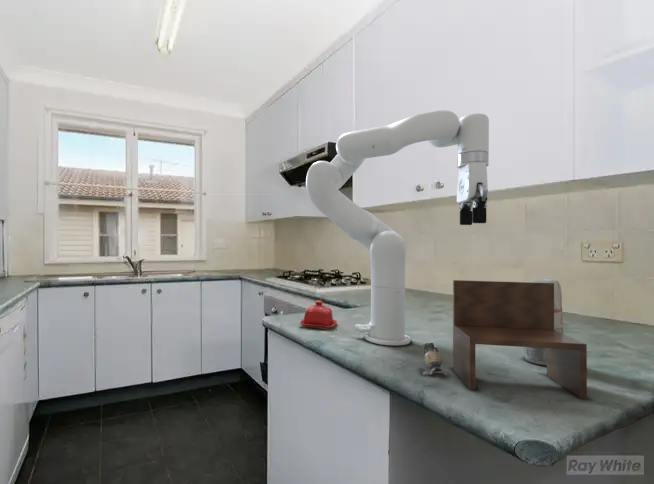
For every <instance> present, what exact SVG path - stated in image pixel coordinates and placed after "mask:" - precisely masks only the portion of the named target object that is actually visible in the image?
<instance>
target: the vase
mask: <svg viewBox="0 0 654 484" xmlns="http://www.w3.org/2000/svg"><path fill="white" fill-rule="evenodd" d="M422 346H423V348H422V354H423V358H424V362H425V363H426V365H427V366H428V368H431V371H430V370H425V371H423V372H422V374H423V376H425V375H430V376H432V375H433V374H434V373H437V374H442V375H444V376H448V375H449V373H448V372H447V371H448V369H446V368H444V369H443V368H442V367H441V366H442V362H443V360H442V356H441V354H440V349H439V348H438V347H436V346H435V344H434V342H424V343H423V344H422Z"/></svg>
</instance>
